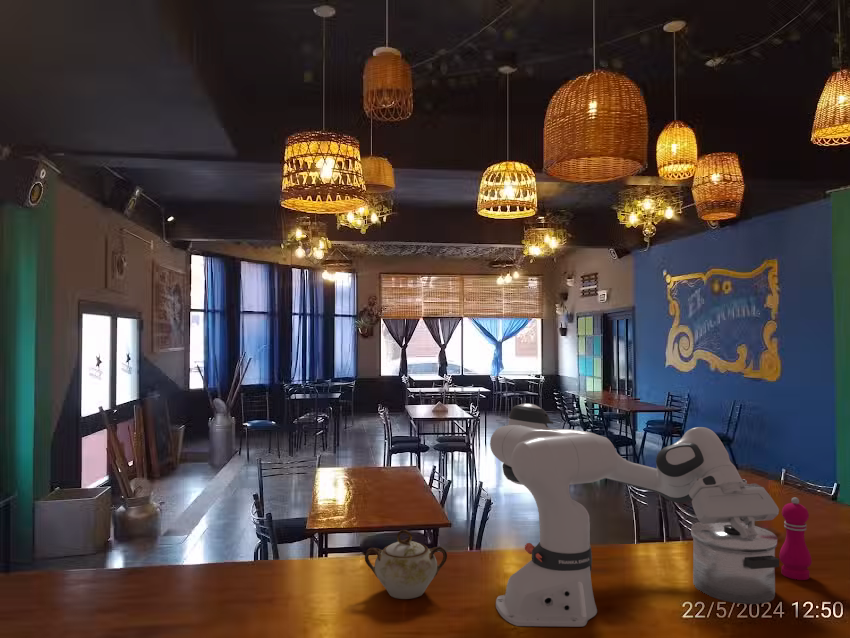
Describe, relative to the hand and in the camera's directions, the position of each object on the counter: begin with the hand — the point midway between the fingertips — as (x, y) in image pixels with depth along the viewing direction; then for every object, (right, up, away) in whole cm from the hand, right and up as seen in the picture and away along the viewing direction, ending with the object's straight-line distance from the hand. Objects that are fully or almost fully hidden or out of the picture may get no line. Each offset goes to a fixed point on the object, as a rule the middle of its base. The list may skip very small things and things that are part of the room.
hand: (750, 537), depth 153 cm
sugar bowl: (-81, -14, +3) cm, 82 cm away
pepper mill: (+19, -15, +14) cm, 28 cm away
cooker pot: (-1, -14, +6) cm, 16 cm away
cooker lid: (-1, -2, +6) cm, 7 cm away
